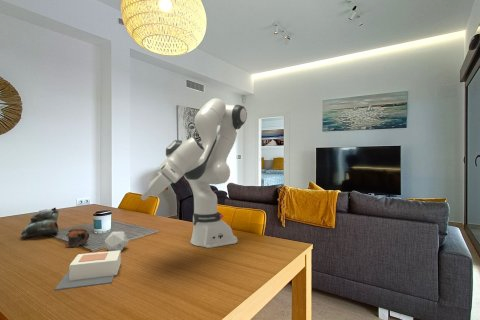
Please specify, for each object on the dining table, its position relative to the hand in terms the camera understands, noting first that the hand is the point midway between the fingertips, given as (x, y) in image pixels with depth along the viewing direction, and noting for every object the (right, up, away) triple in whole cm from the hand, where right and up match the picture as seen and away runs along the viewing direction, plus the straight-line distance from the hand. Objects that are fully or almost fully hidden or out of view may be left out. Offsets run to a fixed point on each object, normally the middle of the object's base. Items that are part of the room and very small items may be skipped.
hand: (142, 199), depth 95 cm
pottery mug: (-39, -25, +24) cm, 52 cm away
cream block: (-7, -22, -2) cm, 24 cm away
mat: (-16, -25, -5) cm, 30 cm away
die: (-18, -25, +17) cm, 35 cm away
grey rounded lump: (-66, -25, +37) cm, 80 cm away
